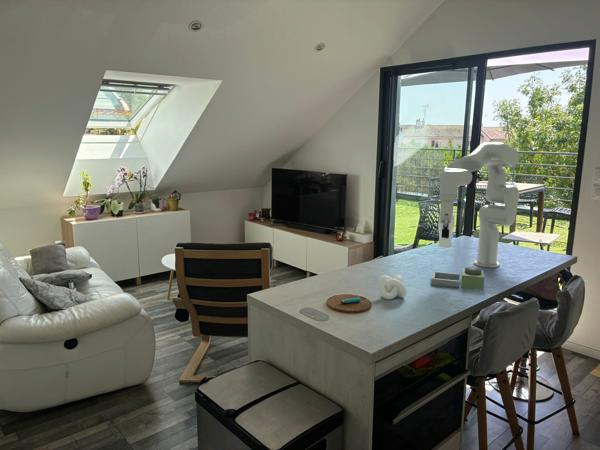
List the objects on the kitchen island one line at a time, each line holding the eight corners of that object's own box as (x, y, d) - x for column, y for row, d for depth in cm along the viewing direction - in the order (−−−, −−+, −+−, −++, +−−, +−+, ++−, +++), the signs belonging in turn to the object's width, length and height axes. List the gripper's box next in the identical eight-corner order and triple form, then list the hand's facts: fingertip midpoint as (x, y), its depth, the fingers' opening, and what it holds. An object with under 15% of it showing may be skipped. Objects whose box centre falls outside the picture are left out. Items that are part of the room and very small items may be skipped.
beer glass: (453, 247, 212) (455, 215, 209) (437, 247, 213) (439, 214, 210) (452, 244, 218) (454, 212, 215) (436, 243, 220) (438, 212, 217)
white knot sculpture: (412, 297, 197) (414, 277, 196) (396, 304, 189) (397, 283, 187) (390, 290, 205) (391, 271, 203) (374, 297, 197) (374, 277, 195)
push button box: (432, 277, 224) (433, 262, 222) (481, 282, 217) (483, 266, 216) (431, 285, 213) (432, 269, 211) (483, 290, 206) (484, 273, 204)
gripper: (440, 194, 221) (438, 231, 224) (438, 199, 205) (435, 239, 208) (457, 195, 218) (454, 233, 222) (456, 200, 202) (453, 240, 206)
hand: (445, 235), depth 215 cm, fingers closed on beer glass, 6 cm apart
